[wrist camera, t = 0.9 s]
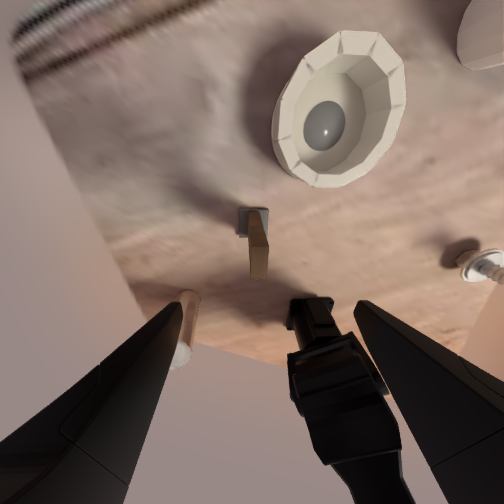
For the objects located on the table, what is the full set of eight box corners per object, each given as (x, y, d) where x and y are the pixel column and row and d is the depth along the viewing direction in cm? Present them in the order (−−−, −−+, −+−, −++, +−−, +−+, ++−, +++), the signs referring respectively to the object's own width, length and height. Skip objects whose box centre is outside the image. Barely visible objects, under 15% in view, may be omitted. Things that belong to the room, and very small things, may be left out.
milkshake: (197, 278, 24) (171, 351, 15) (209, 306, 26) (193, 382, 18) (165, 284, 24) (120, 360, 15) (180, 311, 27) (149, 389, 18)
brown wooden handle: (268, 208, 20) (283, 243, 12) (266, 235, 21) (279, 281, 14) (239, 208, 19) (236, 244, 12) (239, 235, 21) (237, 281, 13)
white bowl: (355, 182, 19) (378, 188, 15) (267, 181, 18) (273, 187, 15) (390, 59, 14) (432, 32, 11) (275, 53, 14) (285, 24, 10)
